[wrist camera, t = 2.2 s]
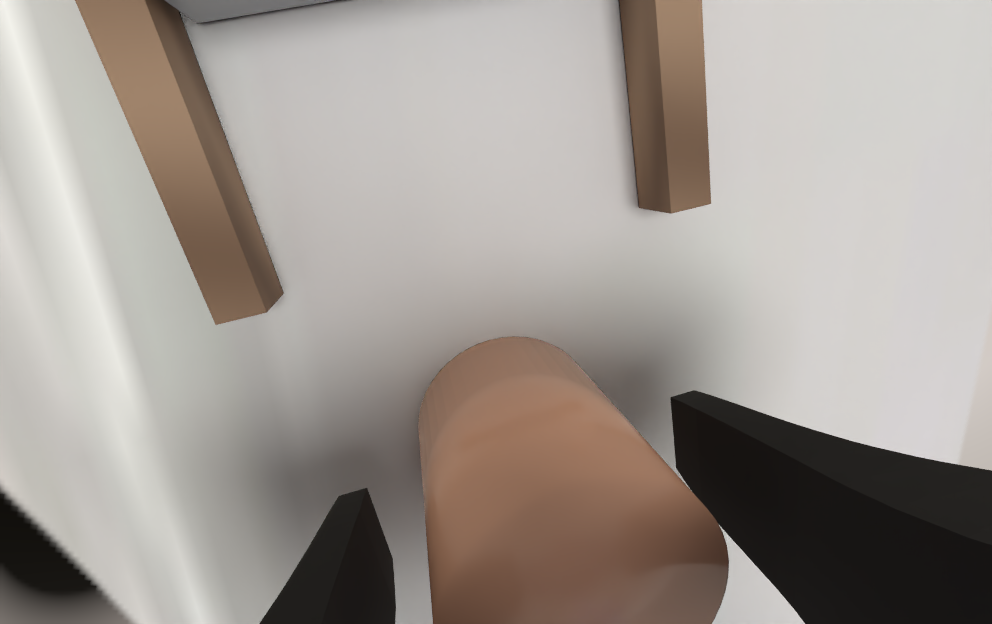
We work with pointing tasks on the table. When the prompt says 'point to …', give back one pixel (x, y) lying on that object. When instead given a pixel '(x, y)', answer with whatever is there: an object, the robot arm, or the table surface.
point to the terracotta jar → (555, 501)
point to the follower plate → (232, 7)
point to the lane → (219, 189)
